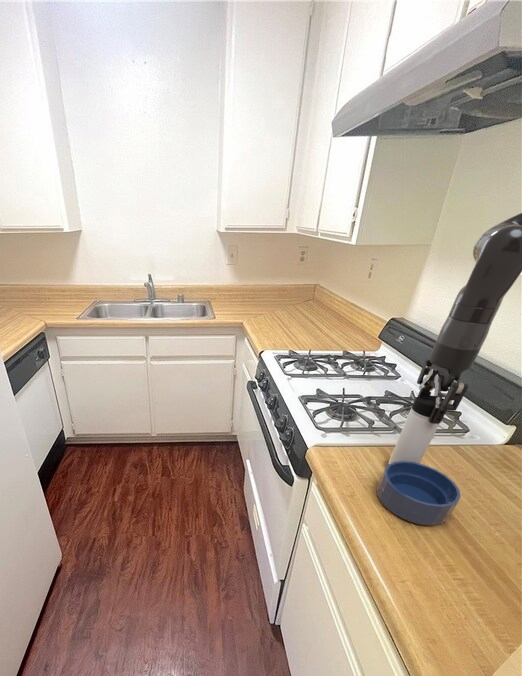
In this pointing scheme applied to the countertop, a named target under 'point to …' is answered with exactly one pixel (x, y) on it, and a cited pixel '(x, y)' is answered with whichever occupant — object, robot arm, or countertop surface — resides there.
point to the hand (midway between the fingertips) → (426, 413)
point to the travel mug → (416, 432)
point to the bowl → (417, 493)
